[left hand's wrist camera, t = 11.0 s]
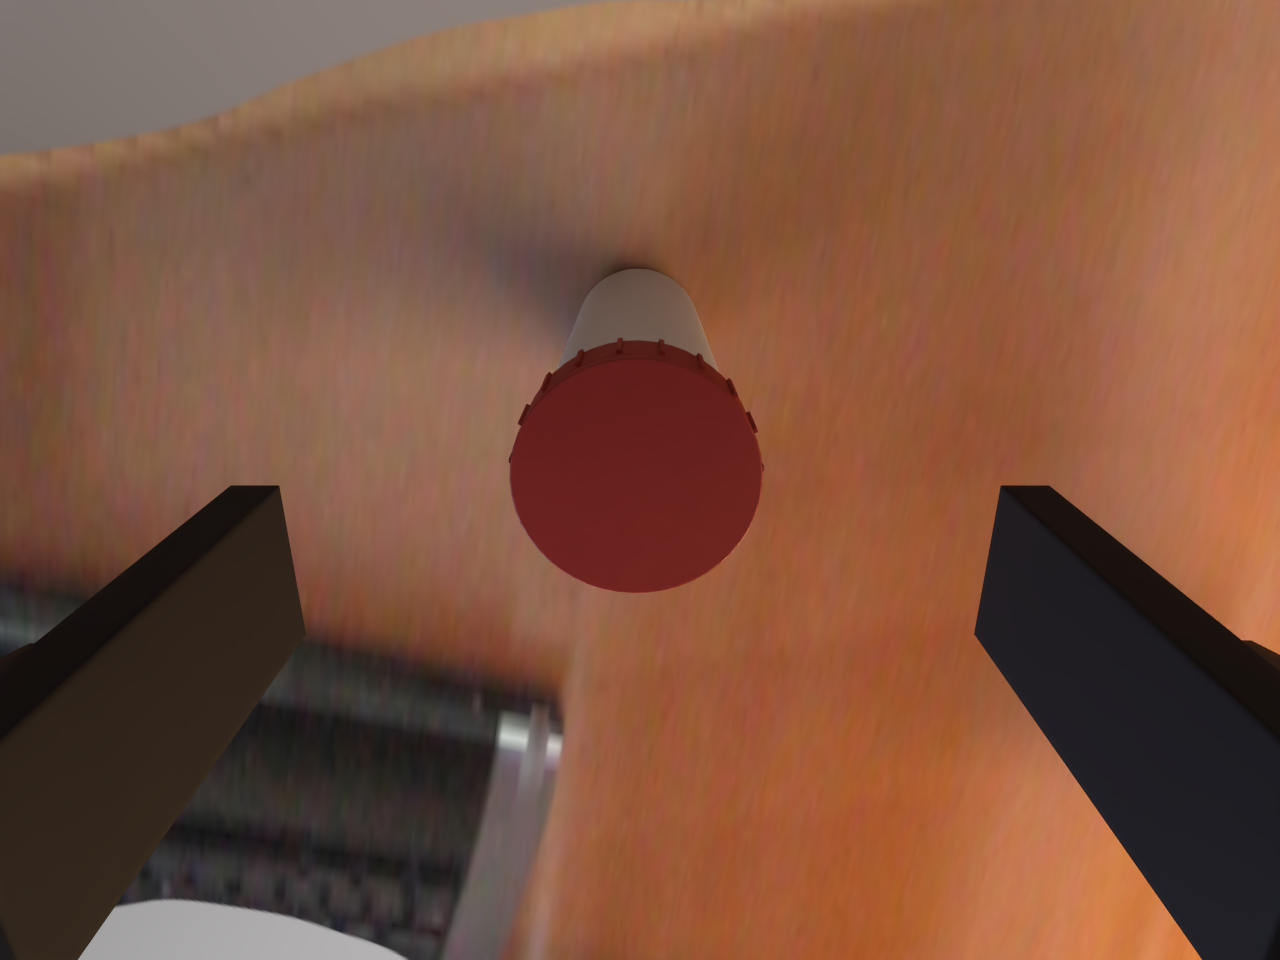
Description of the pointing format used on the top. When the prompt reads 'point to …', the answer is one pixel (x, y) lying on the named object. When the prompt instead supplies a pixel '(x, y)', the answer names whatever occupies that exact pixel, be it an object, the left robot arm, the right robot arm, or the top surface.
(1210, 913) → the left robot arm
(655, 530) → the lid
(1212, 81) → the top surface
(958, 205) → the top surface
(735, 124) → the top surface
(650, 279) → the screw-top jar
